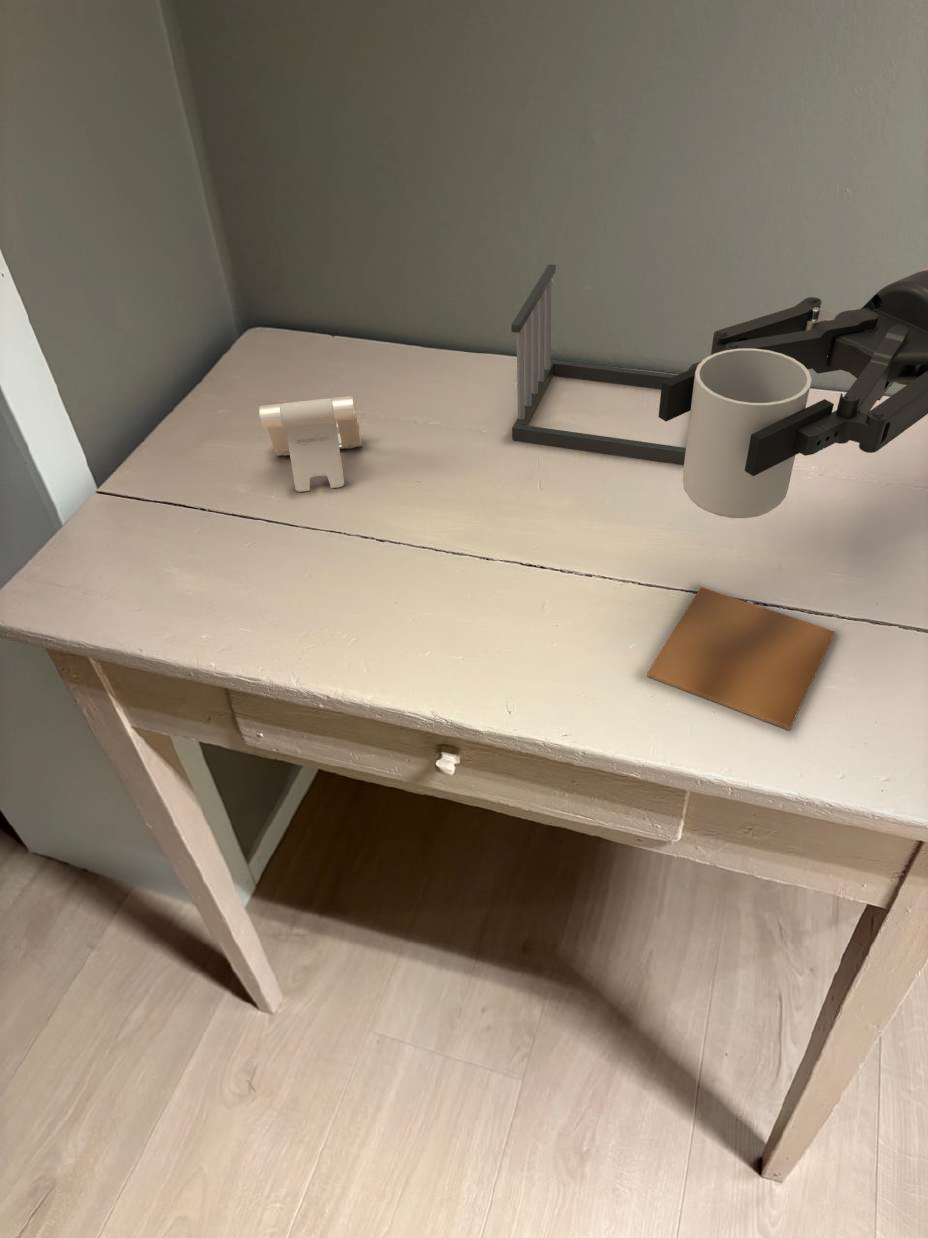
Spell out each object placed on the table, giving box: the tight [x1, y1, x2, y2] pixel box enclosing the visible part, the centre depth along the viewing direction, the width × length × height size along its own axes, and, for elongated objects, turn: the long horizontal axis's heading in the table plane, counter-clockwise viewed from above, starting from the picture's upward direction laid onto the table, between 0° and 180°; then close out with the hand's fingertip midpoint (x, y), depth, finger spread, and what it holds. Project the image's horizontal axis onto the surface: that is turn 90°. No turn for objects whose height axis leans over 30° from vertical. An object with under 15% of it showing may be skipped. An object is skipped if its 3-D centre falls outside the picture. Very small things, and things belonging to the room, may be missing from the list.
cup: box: [682, 349, 812, 519], centre depth 65 cm, size 7×10×9 cm
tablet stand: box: [258, 395, 363, 493], centre depth 92 cm, size 9×8×8 cm
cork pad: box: [646, 586, 835, 731], centre depth 74 cm, size 11×11×1 cm
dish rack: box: [510, 263, 686, 466], centre depth 95 cm, size 18×14×12 cm
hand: (706, 427), depth 62 cm, fingers closed on cup, 7 cm apart
